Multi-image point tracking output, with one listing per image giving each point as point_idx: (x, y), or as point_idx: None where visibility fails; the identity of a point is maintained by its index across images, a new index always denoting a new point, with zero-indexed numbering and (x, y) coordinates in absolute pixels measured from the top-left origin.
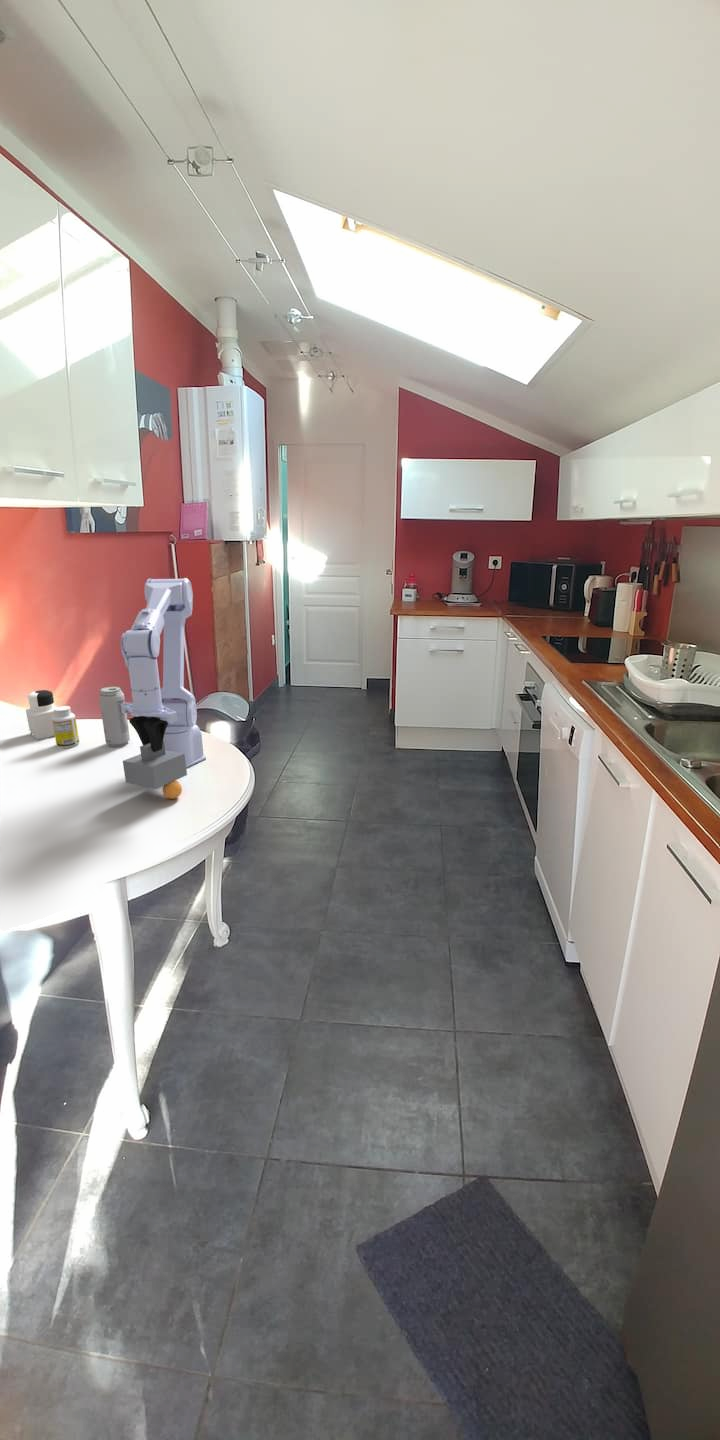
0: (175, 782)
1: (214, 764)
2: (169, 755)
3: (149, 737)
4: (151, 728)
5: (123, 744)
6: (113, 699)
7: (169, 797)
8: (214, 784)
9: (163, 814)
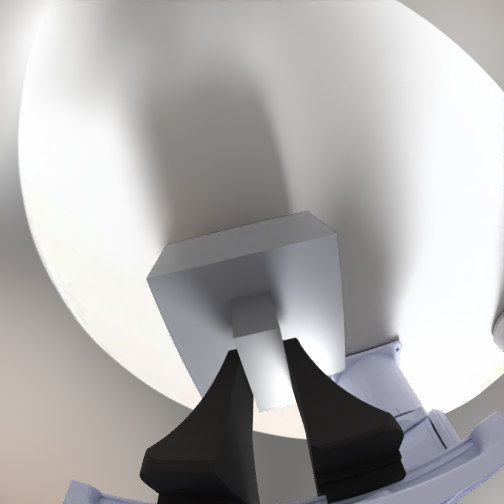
0: None
1: (297, 411)
2: None
3: (230, 394)
4: (156, 443)
5: (495, 328)
6: None
7: None
8: None
9: (134, 217)
